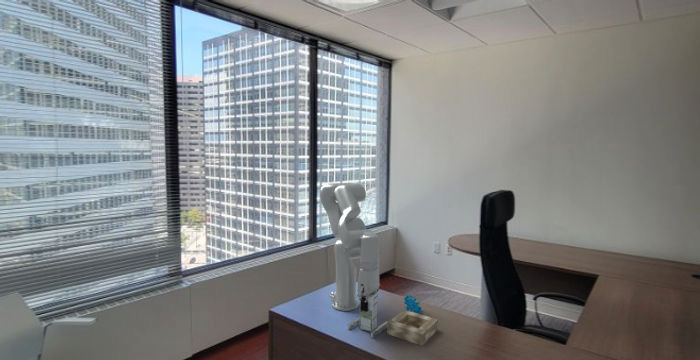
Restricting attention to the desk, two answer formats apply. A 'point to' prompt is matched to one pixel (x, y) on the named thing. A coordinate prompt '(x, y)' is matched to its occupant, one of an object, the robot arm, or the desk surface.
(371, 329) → the syrup box
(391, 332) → the beige square tray
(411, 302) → the gear
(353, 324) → the stand rails
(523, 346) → the desk surface
